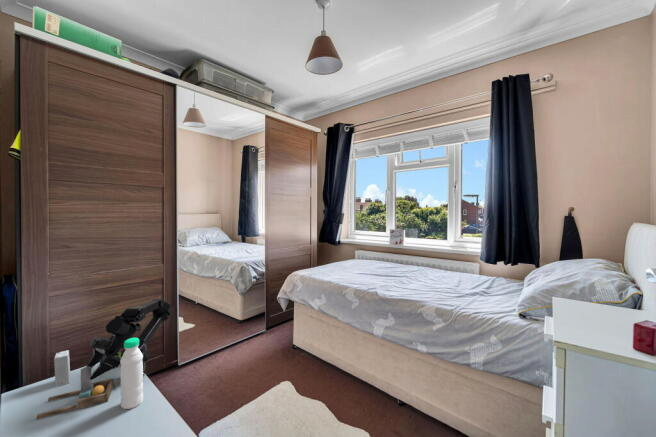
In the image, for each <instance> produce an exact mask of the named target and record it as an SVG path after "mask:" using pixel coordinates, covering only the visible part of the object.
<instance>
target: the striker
mask: <svg viewBox="0 0 656 437" xmlns="http://www.w3.org/2000/svg"><path fill="white" fill-rule="evenodd" d="M92 374H93V373H92V368H91V367H87V366H85V367H83V368H81V369H80V390H81V392H80V394H79V395H78V400H79V399H83V398H87V397H91V396H92V394H91V392H92V390H93V384H92V383H93V380H90V377H91V376H92Z"/></svg>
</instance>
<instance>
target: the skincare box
mask: <svg viewBox="0 0 656 437" xmlns="http://www.w3.org/2000/svg"><path fill="white" fill-rule="evenodd" d="M53 360H54V381H55V387H59V386H63V385H66V384H69V383H70V380H71V367H70V366H71V365H70V364H71V363H70V361H71V360H70V350H69V349H68V350H63V351H59V352H56V353H55V355H54V358H53Z"/></svg>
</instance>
